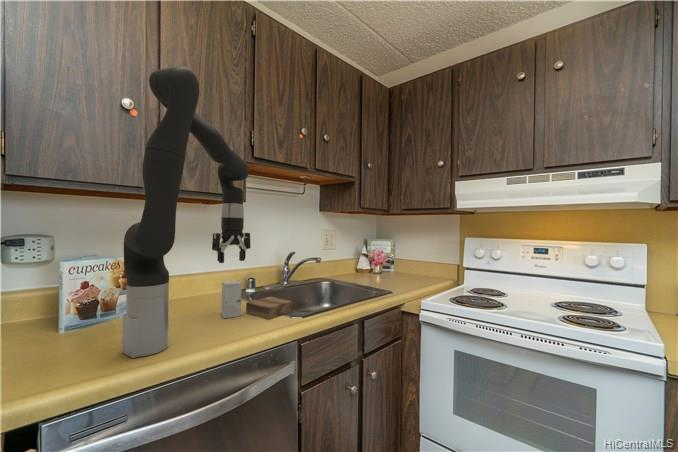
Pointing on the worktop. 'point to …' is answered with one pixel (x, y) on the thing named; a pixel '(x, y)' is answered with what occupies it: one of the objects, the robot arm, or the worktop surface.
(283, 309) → the walnut plinth
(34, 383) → the worktop surface
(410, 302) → the worktop surface
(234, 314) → the skincare box
